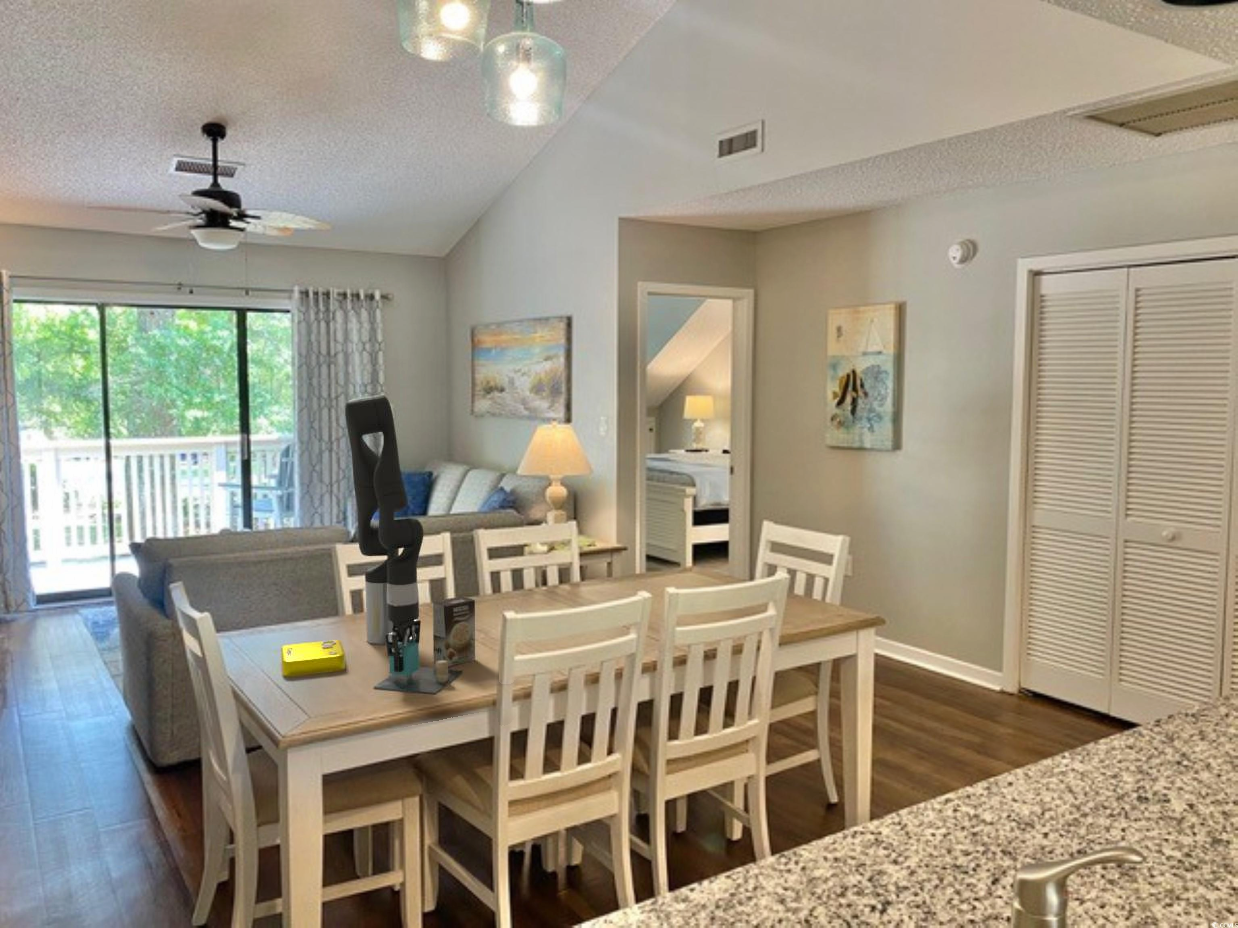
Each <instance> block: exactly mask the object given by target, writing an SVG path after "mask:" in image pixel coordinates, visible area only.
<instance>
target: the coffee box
mask: <svg viewBox="0 0 1238 928" xmlns="http://www.w3.org/2000/svg"><path fill="white" fill-rule="evenodd" d="M432 605H433V606H432V619H433V621H432V622H433V623H432V626H433V628H432V629H433V630H432V632H433V634H432V636H433V637H432V638H433V639H432V640H433V642H432V643H433V644H432V645H433V646H432V647H433V651H432V652H433V657H432V658H433V663H436V662H437V661H447V662H448V667H450V666H455V665H459V664H463V663H467V662H471V661H474V660H476V606H475V605H476V600H475V599H473V598H469V597H464V596H457V597H451V598H445V599H440V600H435V601H432Z"/></svg>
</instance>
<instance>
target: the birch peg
mask: <svg viewBox="0 0 1238 928" xmlns="http://www.w3.org/2000/svg"><path fill="white" fill-rule="evenodd" d="M435 668H436V682H439V683H444V682H447V681H448V670H449V666H448V662H447V661H437V662H435Z"/></svg>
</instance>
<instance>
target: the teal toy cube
mask: <svg viewBox="0 0 1238 928" xmlns="http://www.w3.org/2000/svg"><path fill="white" fill-rule="evenodd" d="M402 643H403V642H398V644H402ZM419 644H420V642H419V643H416V642H413V643H411V642H407V645H406V647H405V648H403V667H404V670H403V671H402V672H395V671H394V657H393V656H388V659H389V662H388V663H389V675H390V674H391V675H392V674H399V675H411V674H412V673H413V672H415V671H416V670H418V669H419V667H420V656H419V655H420V653H419V652H420V651H419V647H420V646H419ZM392 649H393V648H392ZM399 652H400V647H399Z"/></svg>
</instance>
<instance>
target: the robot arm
mask: <svg viewBox="0 0 1238 928" xmlns="http://www.w3.org/2000/svg"><path fill="white" fill-rule="evenodd" d="M344 415H345V421H346V429H347V433H348V440H349V445H350V446H349V447H350V452H351V461H352V477H353V478H352V479H353V488H354V496H355V501H356V502H355V503H356V509H357V510H356V511H357V536H358V538H357V540H358V541H357V542H358V546H359V547H358V548H359V550H360V554H362V556H364V557H384V556H385V557H386V559H385V560H384V561H382V562H380V563H379V564H377V565H373V566H372V567H369V568H368V569H366V570H365V573H364V580H365V581H364V583H365V610H366V611H365V614H366V615H365V616H366V618H365V619H366V642H367V643H369V644H374V645H385V644H386V649H387V650H386V651H387V656H388V657H389V656H393V657H394V671H395V672H402V671H403V670H404V667H403V648H405V647H406V645H407V642H411V643H413V642H416V643H419V644H420V636H421V625H422V624H421V623H422V622H421V620H419V617H420V608H419V607H420V606H419V600H420V599H419V598H420V597H419V586H418V572H417V571H418V567H417V566H418V562H419V556H420V551H421V549H422V544H423V540H424V527H423V525H422V523H421V521H420V520H418V519H417V518H415V517H409V518H408V517H406V518H399V519H395V513H399V512H400V511H403V510H405V509H406V508H407V507H408V505H409V500H408V495H407V491H406V488H405V483H404V480H403V476H402V471H401V466H400V457H399V447H398V441H397V440H398V439H397V433H396V428H395V420H394V416H393V415H394V414H393V410H392V406H391V404H390V401H389V398H387V396H386V395H384V394H378V395H376V394H375V395H372V396H371V395H370V396H365V397H357V398H353V399H350V400H348V401H347V402H346V403H345V406H344ZM377 433H378V434H379V433H382V437H383V438H382V440H383V442H382V443H383V444H382V449H381V453H380V455H378V454H377V453H376V452H375V451H373V449H372V448H370V446H369V445H368V444H367V442H366V441H365V439H364V438H363V437H364V435H365V436H366V435H371V434H377ZM377 511H378V522H372V520H373V517H374V515H376V513H377ZM400 549H402V551H401V553H400V552H399V551H400ZM399 553H400V554H399ZM398 642H403V643H402V644H398ZM399 647H400V652H399ZM392 648H393V649H392Z"/></svg>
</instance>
